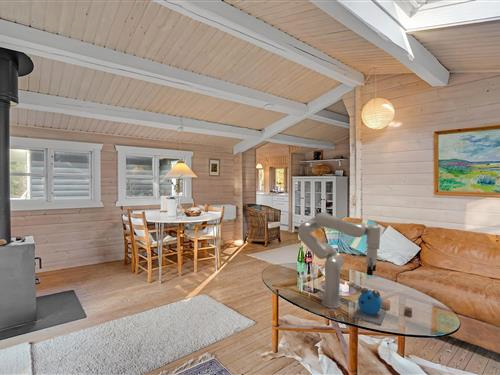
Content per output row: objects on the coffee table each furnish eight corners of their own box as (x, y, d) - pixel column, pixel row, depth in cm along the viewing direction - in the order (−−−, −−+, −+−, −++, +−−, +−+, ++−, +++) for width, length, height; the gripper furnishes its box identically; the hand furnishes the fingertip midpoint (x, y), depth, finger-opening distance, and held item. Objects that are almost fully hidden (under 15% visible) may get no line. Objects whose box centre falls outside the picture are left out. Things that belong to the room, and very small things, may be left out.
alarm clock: (381, 314, 183) (382, 290, 182) (379, 318, 178) (380, 293, 177) (359, 308, 191) (360, 285, 190) (357, 312, 185) (358, 288, 185)
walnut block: (404, 315, 184) (404, 309, 184) (404, 312, 188) (405, 306, 187) (411, 317, 182) (411, 310, 182) (411, 314, 185) (412, 308, 185)
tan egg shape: (380, 308, 193) (381, 301, 192) (382, 305, 197) (382, 298, 197) (389, 310, 190) (389, 303, 190) (390, 307, 194) (390, 300, 194)
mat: (352, 317, 180) (352, 316, 179) (359, 305, 196) (359, 304, 196) (380, 325, 171) (380, 324, 171) (386, 312, 188) (386, 310, 188)
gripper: (369, 241, 192) (367, 268, 193) (363, 247, 177) (361, 275, 178) (381, 243, 188) (380, 270, 189) (376, 249, 173) (375, 278, 174)
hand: (371, 272), depth 183 cm, fingers open, 9 cm apart
